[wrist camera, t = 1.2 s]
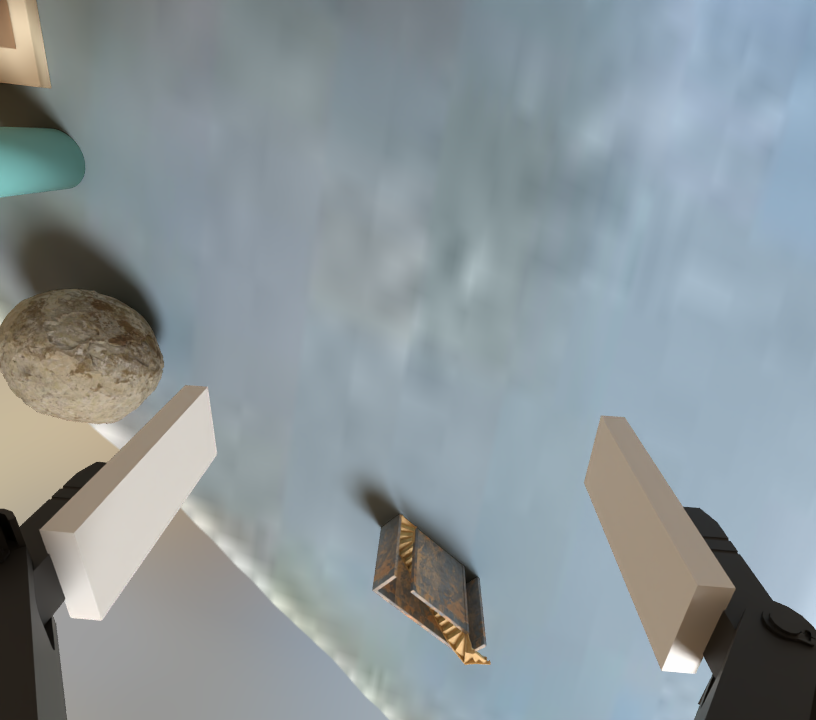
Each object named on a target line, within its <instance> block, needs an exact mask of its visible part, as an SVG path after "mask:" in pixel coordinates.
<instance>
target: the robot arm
mask: <svg viewBox="0 0 816 720" xmlns="http://www.w3.org/2000/svg"><path fill="white" fill-rule="evenodd" d="M216 455H217V449H216V442H215V435H214V428H213V421H212V414H211V407H210V400H209V393H208V387H202V386H188V385H185V386H184V387H183V388H182V389H181V390H180V391H179V392H178V393H177V394H176V395H175V396H174V397H173V398H172V399H171V400H170V401H169V402H168V403H167V404H166V405H165V406H164V407H163V408H162V409H161V410H160V411H159V412H158V413H157V414H156V415H155V416H154V417H153V418H152V419H151V420H150V421H149V422H148V423H147V424H146V425H145V426H144V427H143V428H142V429H141V430H140V431H139V432H138V433H137V434H136V435H135V436H134V437H133V438H132V439H131V440H130V441H129V442H128V443H127V444H126V445H125V446H124V447H123V448H122V449H121V450H120V451H119V452H118V453H117V454H116V455H115V456H114V457H113V458H112V459H111V460H110V461H109V462H107V463H104V462H96V463H94V464H92V465H90V466H88V467H87V468H85V469H83V470H81V471H80V472H78V473H77V474H76V475H74V476H73V477H72V478H71V479H70V480H69V481H68V482H67V483H66V484H65V485H64V486H63V489H59V490H58V491H57V492H56V493H55V494H54V495H53V496H52V499H51V500H50V499H49V500H48V501H47V502H46V503H45V504H43V505H42V506H41V507H40V508H39V509H38V510H37V511H36V512H35V513H34V514H33V515H32V516H31V517H30V518H28V519H27V520H26V521H25V522H24V523H23V524H22V525H21V526H20V527H19V525H18V523H17V520H16V517H15V516H14V514H13V512H12V511H9V510H6V509H0V720H67V715H66V706H65V698H64V689H63V681H62V671H61V663H60V654H59V645H58V636H57V628H56V623H55V620H54V617H53V614H54V613H55V611H56V610H57V609H58V608H59V607H60V605H61V604H62V603H63V602H64V601H65V603H66V606H67V609H68V612H69V614H70V617H71V618H80V619H91V620H103V618H104V617H105V615H106V614H107V612H108V611H109V610H110V608H111V607H112V605H113V604H114V602H115V601H116V599H117V598H118V597H119V595H120V593H121V592H122V591H123V589H124V588H125V586H126V585H127V583H128V582H129V581H130V579H131V578H132V576H133V575H134V574H135V572H136V570H137V569H138V567H139V566H140V565H141V563H142V562H143V561H144V559H145V558H146V556H147V555H148V553H149V552H150V550H151V549H152V547H153V546H154V545H155V543H156V542H157V540H158V539H159V537H160V536H161V535H162V533H163V532H164V530H165V529H166V527H167V526H168V524H169V523H170V522H171V520H172V519H173V517H174V516H175V514H176V513H177V511H178V510H179V509H180V507H181V506H182V504H183V503H184V501H185V500H186V499H187V497H188V496H189V494H190V493H191V491H192V490H193V488H194V487H195V486H196V484H197V483H198V481H199V480H200V478H201V477H202V475H203V474H204V473H205V471H206V470H207V468H208V467H209V465H210V464H211V462H212V461H213V460H214V458H215V457H216ZM584 484H585V486H586V489H587V491H588V493H589V496H590V498H591V501H592V503H593V506H594V508H595V510H596V513H597V515H598V518H599V520H600V523H601V525H602V527H603V530H604V532H605V535H606V537H607V540H608V542H609V544H610V547H611V549H612V552H613V554H614V556H615V559H616V561H617V564H618V566H619V569H620V571H621V573H622V576H623V578H624V581H625V583H626V586H627V588H628V590H629V593H630V595H631V598H632V600H633V603H634V605H635V607H636V610H637V612H638V615H639V617H640V620H641V622H642V624H643V627H644V629H645V632H646V634H647V637H648V639H649V641H650V644H651V646H652V649H653V651H654V654H655V656H656V658H657V661H658V663H659V666H660V668H661V671H672V672H683V673H694V674H696V671H697V669H698V667H699V665H700V663H701V661H702V659H703V657H704V658H705V660H706V662H707V664H708V666H709V668H710V670H711V672H712V673H713V675H712V677H711V679H710V681H709V683H708V685H707V687H706V689H705V691H704V693H703V695H702V697H701V699H700V701H699V703H698V704H699V705H700V706H699V709H698V711H697V714H696V716H695V719H694V720H816V630H815V628H814V627H813V626H812V625H811V624H810V623H809V622H808V621H807V620H806V619H805V618H804V617H803V616H801V615H800V614H798V613H797V612H795V611H794V610H792V609H791V608H789V607H787V606H785V605H782V604H780V603H777V602H775V601H773V600H772V599H771V597H770V596H769V595H768V593H767V592H766V590H765V589H764V587H763V586H762V585H761V583H760V582H759V580H758V579H757V578H756V576H755V575H754V573H753V572H752V571H751V569H750V568H749V566H748V565H747V564H746V562H745V561H744V559H743V558H742V557H741V555H740V554H738V553H737V552H738V551H737V550H736V548H735V547H734V545H733V544H732V543H731V541H728V537H727V536H726V534H725V533H724V531H723V530H722V528H721V527H720V526H719V524H718V523H717V522H716V521H715V520H714V519H712V518H711V517H710V516H709V515H708V514H706V513H705V512H704V511H703V510H701V509H700V508H692V507H683V506H682V505H681V503H680V502H679V500H678V499H677V497H676V496H675V494H674V493H673V491H672V489H671V488H670V486H669V485H668V483H667V482H666V480H665V479H664V477H663V476H662V474H661V472H660V471H659V469H658V468H657V466H656V465H655V463H654V462H653V460H652V459H651V457H650V456H649V454H648V452H647V451H646V449H645V448H644V446H643V445H642V443H641V442H640V440H639V439H638V437H637V436H636V434H635V432H634V431H633V429H632V428H631V426H630V425H629V423H628V422H627V420H626V419H625V417H613V416H601V418H600V422H599V426H598V430H597V434H596V438H595V442H594V445H593V449H592V453H591V457H590V461H589V465H588V469H587V473H586V477H585V481H584Z"/></svg>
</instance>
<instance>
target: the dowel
mask: <svg viewBox="0 0 816 720" xmlns="http://www.w3.org/2000/svg"><path fill="white" fill-rule="evenodd" d="M84 173H85V161H84V157H83V154H82V152H81V150H80V148H79V147H78V145H77V144H76V143H75V141H74V140H73V139H72V138H71V137H69V136H68V135H67V134H65V133H63V132H62V131H59V130H56V129H52V128H25V127H0V197H7V196H15V195H23V194H30V193H38V192H46V191H54V190H62V189H69V188H73V187H75V186H77V185H78V184H79V183H80V182H81V180H82V179H83V177H84Z"/></svg>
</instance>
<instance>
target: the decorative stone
mask: <svg viewBox="0 0 816 720" xmlns="http://www.w3.org/2000/svg"><path fill="white" fill-rule="evenodd" d="M163 367H164V361H163V356H162V353H161V351H160V348H159V345H158V343H157V340H156V338H155V335H154V333H153V331H152V329H151V327H150V325H149V324H148V322H147V321H146V320H145V319H144V318H143V316H141V315H140V314H139V313H138V312H137V311H136V310H134V309H132V308H130V307H129V306H127V305H126V304H125V303H122V302H121V301H119V300H117V299H115V298H113V297H110V296H106V295H103V294H100V293H97V292H96V291H88V290H83V289H57V290H54V291H48V292H45V293H42V294H38V295H35V296H33V297H30V298H28V299H25V300H23V301H21V302H20V303H19V304H18V305H16V306H15V307H14V308H13V309H12V311H11V312H10V313H9V314H8V315H7V316H6V317H5V319H4V321H3V322H2V324H1V326H0V371H1V373H2V374H3V376H4V378H5V379H6V381H7V382H8V386H9V387H10V389H11V390H12V391H13V393H14V394H15V395H16V396H17V397H19V398H21V399H22V400H23V402H24V403H25V404H26V405H28V406H29V407H31V408H33V409H34V410H35V411H36V412H39V413H42V414H46V415H51V416H53V417H57V418H61V419H64V420H69V421H75V422H85V423H94V424H102V423H106V424H107V423H115V422H117V421H119V420H121V419H123V418H124V417H125V416H127V415H128V414H129V413H130V412H132V411H134V410H135V409H137V408H138V407H139V406H140V405H141V404H142V403H143V401H144V400H145V399H147V397H148V396H149V395H150V394H151V393H152V392H153V391H154V390H155V389H156V387H157V385H158V383H159V381H160V379H161V376H162V373H163V370H162V369H163Z"/></svg>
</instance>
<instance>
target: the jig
mask: <svg viewBox="0 0 816 720" xmlns="http://www.w3.org/2000/svg"><path fill="white" fill-rule="evenodd" d="M7 5H8V10H9V15H10V20H11V25H12V31H13V36H14V41H15V46H16V49H10V48H1V47H0V83H8V84H16V85H25V86H34V87H42V88H51V83H50V78H49V72H48V66H47V60H46V55H45V49H44V43H43V37H42V32H41V26H40V20H39V14H38V8H37V3H36V0H7Z"/></svg>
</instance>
